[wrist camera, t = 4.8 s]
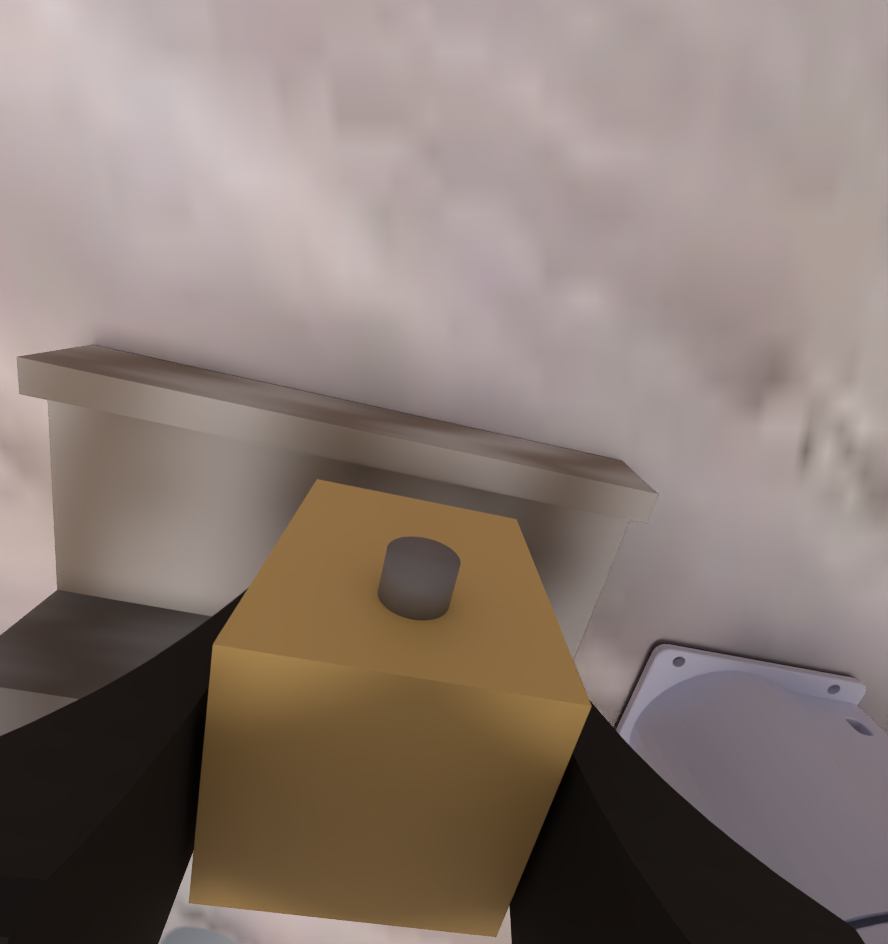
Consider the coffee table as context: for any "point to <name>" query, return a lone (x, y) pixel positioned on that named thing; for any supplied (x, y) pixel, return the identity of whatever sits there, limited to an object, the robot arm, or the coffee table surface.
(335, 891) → the cabinet block
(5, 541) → the coffee table surface
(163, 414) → the board
